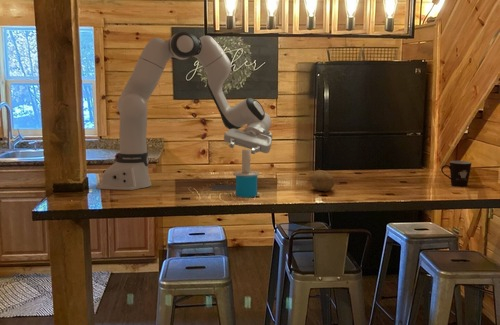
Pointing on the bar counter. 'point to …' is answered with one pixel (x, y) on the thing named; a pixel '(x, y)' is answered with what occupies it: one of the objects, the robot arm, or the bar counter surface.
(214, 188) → the mat
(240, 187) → the mug
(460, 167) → the coffee mug
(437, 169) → the bar counter surface
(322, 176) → the potato
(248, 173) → the white post stand
